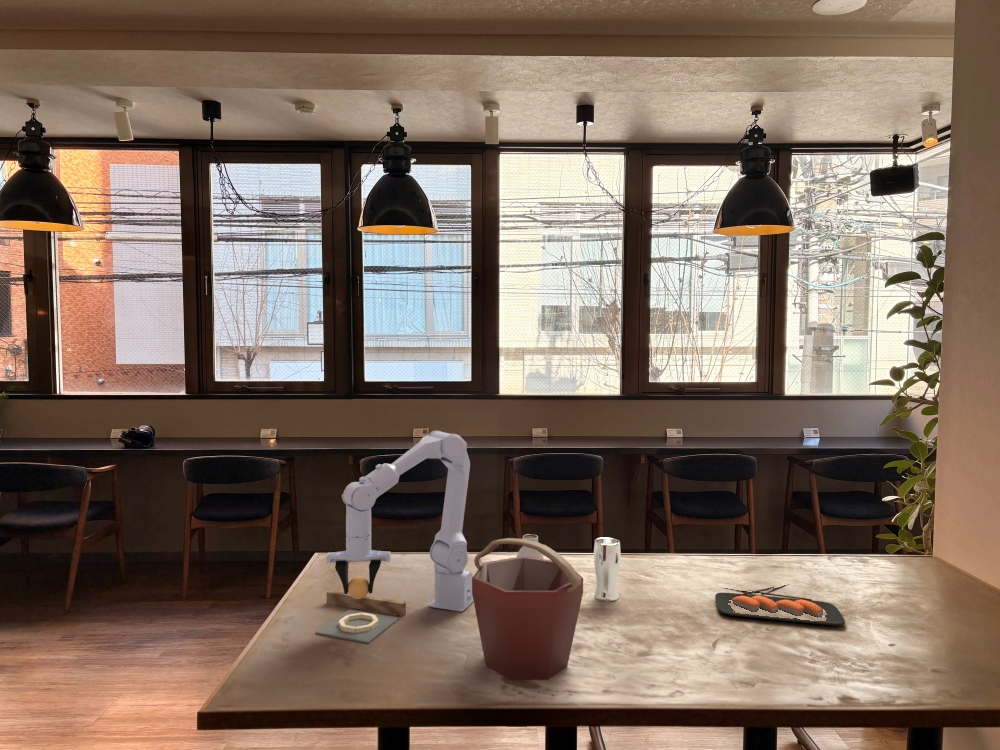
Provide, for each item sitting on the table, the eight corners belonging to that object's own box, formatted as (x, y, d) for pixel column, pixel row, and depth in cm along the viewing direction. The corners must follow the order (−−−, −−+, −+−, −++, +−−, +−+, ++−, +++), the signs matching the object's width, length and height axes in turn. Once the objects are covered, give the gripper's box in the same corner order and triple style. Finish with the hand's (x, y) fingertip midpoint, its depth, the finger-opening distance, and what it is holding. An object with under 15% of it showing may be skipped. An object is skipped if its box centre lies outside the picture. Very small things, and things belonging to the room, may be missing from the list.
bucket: (450, 654, 139) (450, 538, 138) (526, 627, 153) (527, 521, 152) (527, 702, 120) (529, 568, 120) (607, 666, 135) (608, 546, 134)
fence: (405, 614, 160) (405, 602, 160) (403, 616, 159) (403, 604, 159) (329, 602, 168) (329, 590, 168) (326, 603, 166) (326, 592, 166)
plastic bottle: (541, 624, 155) (542, 541, 154) (513, 621, 156) (514, 539, 155) (545, 613, 161) (546, 533, 160) (518, 611, 163) (519, 531, 162)
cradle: (399, 619, 157) (399, 613, 157) (369, 643, 144) (369, 637, 144) (349, 610, 162) (349, 605, 162) (315, 633, 149) (315, 627, 149)
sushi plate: (718, 620, 160) (718, 604, 160) (709, 578, 189) (709, 565, 189) (848, 633, 153) (849, 617, 153) (818, 588, 182) (819, 574, 182)
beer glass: (618, 593, 176) (619, 537, 175) (621, 602, 169) (621, 545, 168) (592, 591, 176) (593, 536, 176) (593, 601, 169) (594, 544, 169)
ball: (370, 593, 156) (370, 573, 155) (368, 601, 151) (368, 580, 150) (349, 594, 155) (349, 573, 155) (346, 602, 150) (346, 581, 150)
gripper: (391, 529, 157) (391, 585, 157) (329, 530, 156) (329, 586, 156) (389, 537, 150) (389, 596, 150) (324, 538, 149) (324, 597, 149)
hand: (358, 592), depth 153 cm, fingers closed on ball, 5 cm apart
